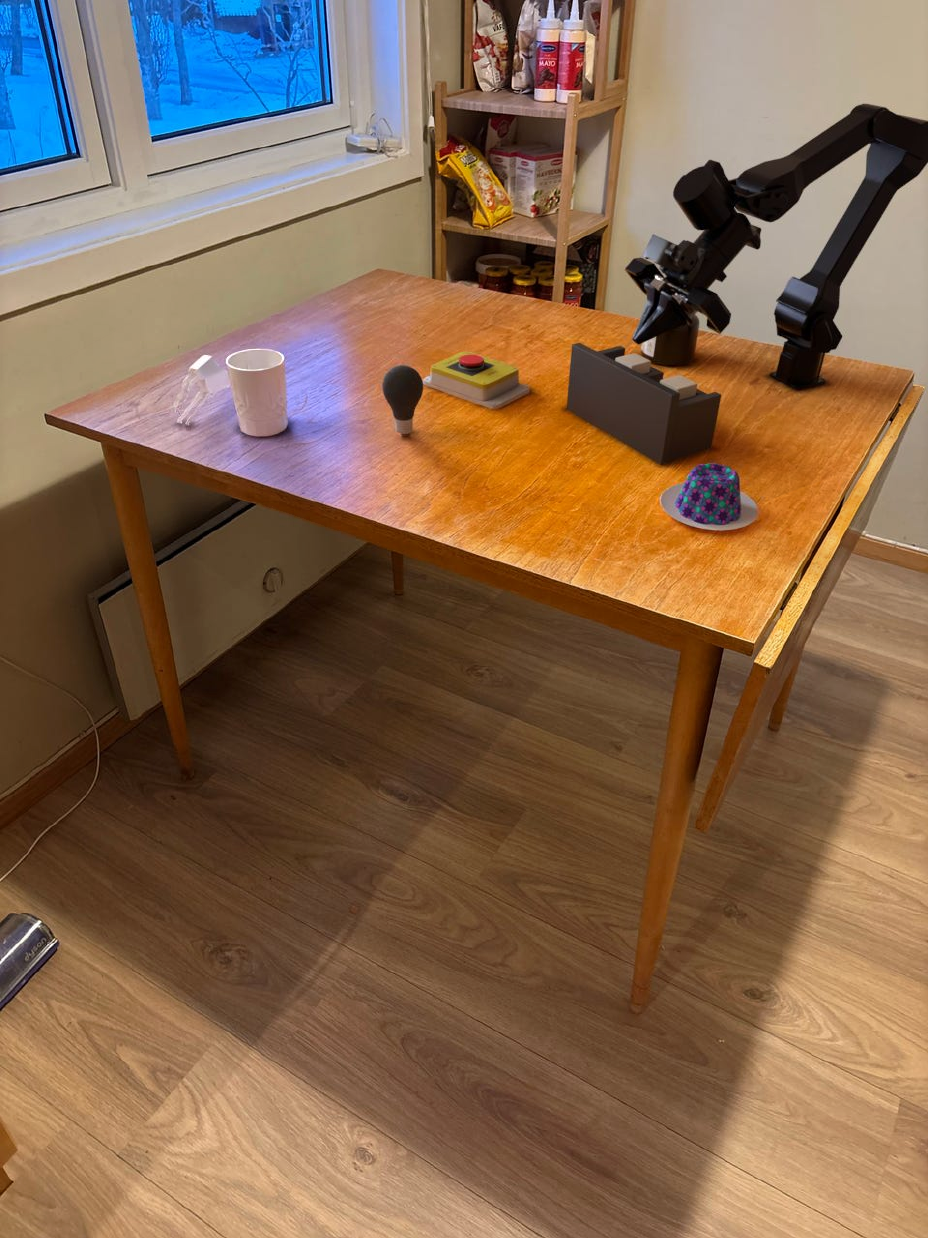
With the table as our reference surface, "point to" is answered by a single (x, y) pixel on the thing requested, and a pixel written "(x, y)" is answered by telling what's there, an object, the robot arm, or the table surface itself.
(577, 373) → the black hollow block
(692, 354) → the ink bottle
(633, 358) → the key
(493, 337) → the table surface
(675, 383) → the key
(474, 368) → the emergency button
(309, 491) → the table surface
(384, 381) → the light bulb
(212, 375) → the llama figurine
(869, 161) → the robot arm
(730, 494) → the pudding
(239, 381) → the white cup
